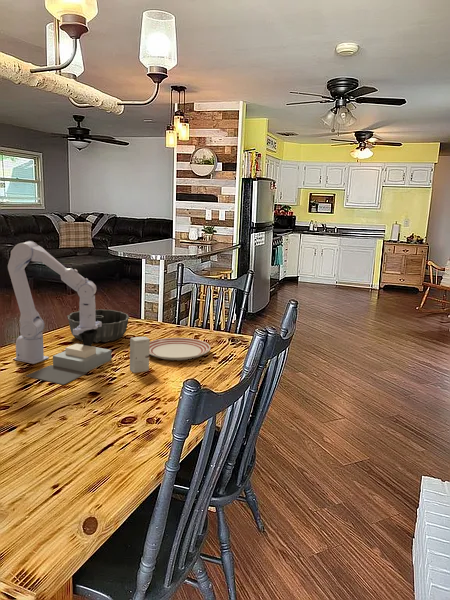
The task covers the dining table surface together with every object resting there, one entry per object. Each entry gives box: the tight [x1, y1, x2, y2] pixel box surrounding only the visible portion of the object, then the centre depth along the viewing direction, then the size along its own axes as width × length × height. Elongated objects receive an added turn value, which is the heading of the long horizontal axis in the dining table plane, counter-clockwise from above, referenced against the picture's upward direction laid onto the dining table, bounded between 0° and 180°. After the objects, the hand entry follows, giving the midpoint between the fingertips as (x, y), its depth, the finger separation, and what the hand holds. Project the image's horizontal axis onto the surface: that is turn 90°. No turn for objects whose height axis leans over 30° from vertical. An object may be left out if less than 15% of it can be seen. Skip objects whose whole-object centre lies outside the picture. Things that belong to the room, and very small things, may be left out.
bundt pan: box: [66, 308, 130, 344], centre depth 206 cm, size 26×26×10 cm
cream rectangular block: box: [64, 343, 96, 358], centre depth 172 cm, size 9×6×2 cm, turn 68°
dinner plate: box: [149, 337, 211, 362], centre depth 191 cm, size 27×27×3 cm
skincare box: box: [129, 336, 151, 374], centre depth 169 cm, size 6×4×12 cm
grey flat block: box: [52, 343, 112, 373], centre depth 174 cm, size 14×16×4 cm
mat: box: [25, 364, 88, 386], centre depth 162 cm, size 16×12×1 cm
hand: (87, 348), depth 176 cm, fingers closed
